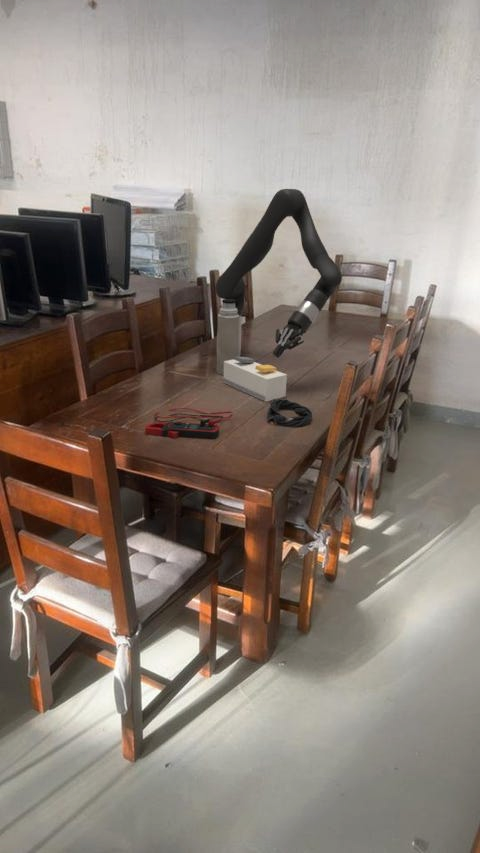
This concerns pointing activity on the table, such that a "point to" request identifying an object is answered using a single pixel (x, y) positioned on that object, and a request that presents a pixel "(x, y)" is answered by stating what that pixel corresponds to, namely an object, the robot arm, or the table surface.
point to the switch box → (255, 380)
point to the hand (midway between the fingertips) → (275, 355)
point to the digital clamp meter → (187, 426)
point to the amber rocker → (265, 368)
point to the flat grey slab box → (244, 359)
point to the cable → (286, 404)
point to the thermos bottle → (227, 334)
